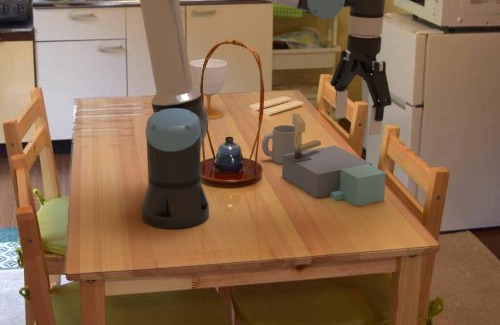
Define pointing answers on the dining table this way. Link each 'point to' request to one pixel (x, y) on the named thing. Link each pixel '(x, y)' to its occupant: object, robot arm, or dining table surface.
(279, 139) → the cup
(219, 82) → the cup
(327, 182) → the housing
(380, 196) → the cover
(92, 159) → the dining table surface
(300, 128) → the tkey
